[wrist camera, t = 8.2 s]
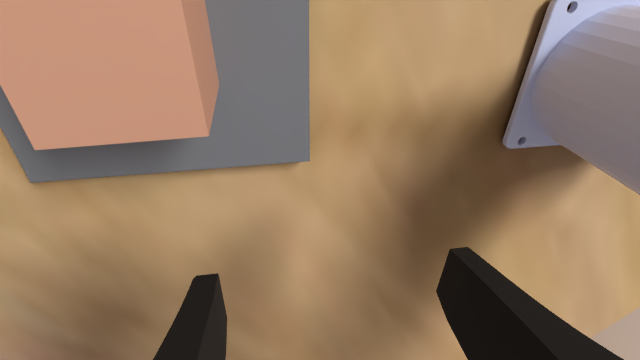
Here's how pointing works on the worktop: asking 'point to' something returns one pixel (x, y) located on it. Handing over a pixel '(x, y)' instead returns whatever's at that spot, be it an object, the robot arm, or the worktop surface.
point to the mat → (230, 108)
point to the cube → (108, 70)
